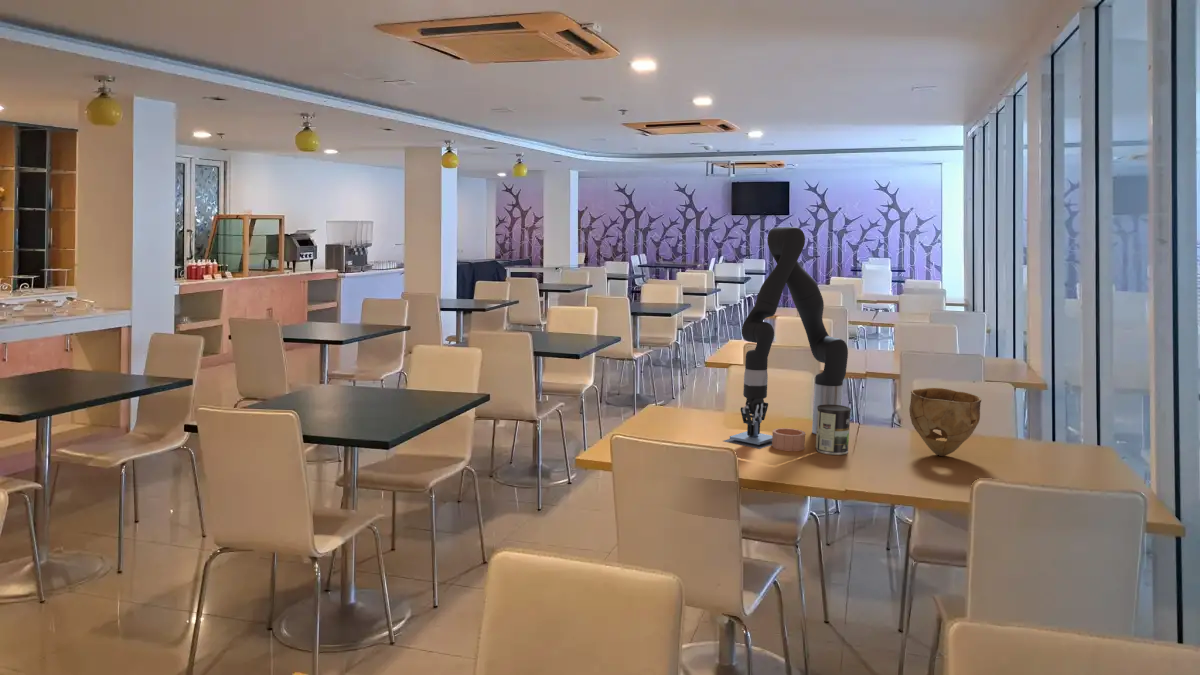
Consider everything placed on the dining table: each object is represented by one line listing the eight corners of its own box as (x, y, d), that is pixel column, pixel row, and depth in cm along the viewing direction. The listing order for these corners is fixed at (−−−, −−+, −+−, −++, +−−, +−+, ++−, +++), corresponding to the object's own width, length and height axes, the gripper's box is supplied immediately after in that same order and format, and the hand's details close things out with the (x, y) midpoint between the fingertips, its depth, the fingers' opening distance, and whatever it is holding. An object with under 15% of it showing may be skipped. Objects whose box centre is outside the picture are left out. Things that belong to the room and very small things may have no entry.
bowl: (975, 452, 299) (979, 390, 296) (978, 467, 280) (983, 402, 277) (906, 445, 306) (911, 385, 303) (905, 459, 287) (910, 396, 284)
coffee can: (847, 448, 299) (850, 405, 298) (849, 456, 289) (852, 411, 288) (814, 445, 301) (816, 403, 300) (815, 453, 291) (817, 409, 290)
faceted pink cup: (782, 443, 304) (783, 426, 303) (810, 449, 297) (811, 432, 296) (765, 448, 296) (766, 431, 295) (794, 454, 290) (795, 437, 289)
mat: (745, 435, 313) (745, 434, 313) (782, 443, 304) (782, 441, 304) (722, 442, 302) (722, 441, 302) (759, 450, 293) (759, 448, 293)
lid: (747, 433, 310) (748, 416, 310) (776, 438, 303) (777, 421, 303) (729, 438, 302) (730, 421, 301) (758, 444, 295) (759, 426, 294)
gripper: (757, 378, 308) (754, 429, 310) (733, 383, 298) (731, 436, 300) (777, 381, 303) (774, 433, 305) (754, 387, 293) (751, 440, 295)
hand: (753, 434), depth 303 cm, fingers closed on lid, 2 cm apart
